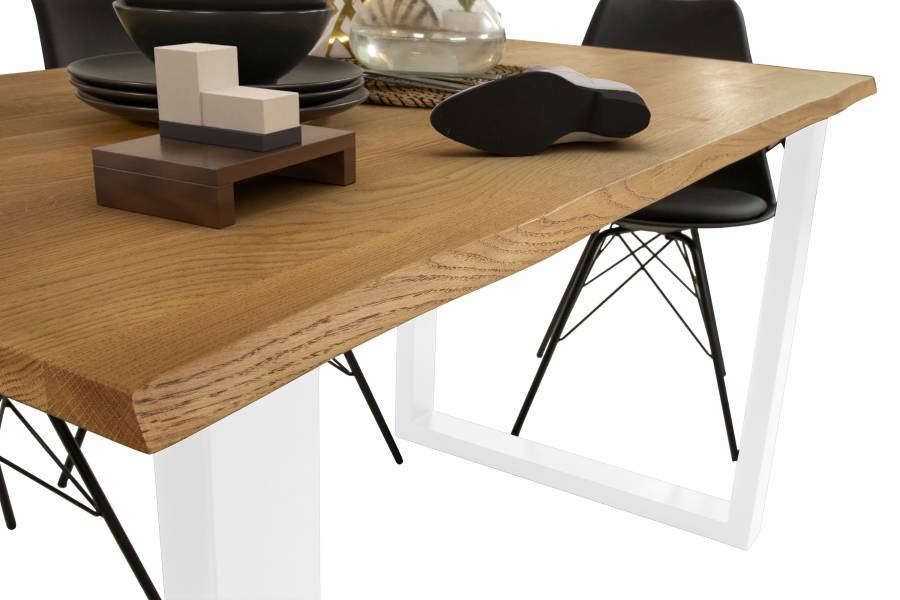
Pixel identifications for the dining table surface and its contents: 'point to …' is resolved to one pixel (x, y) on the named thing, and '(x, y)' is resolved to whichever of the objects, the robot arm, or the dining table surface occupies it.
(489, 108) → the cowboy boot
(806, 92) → the dining table surface
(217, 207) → the shoe shelf
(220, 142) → the trainer
